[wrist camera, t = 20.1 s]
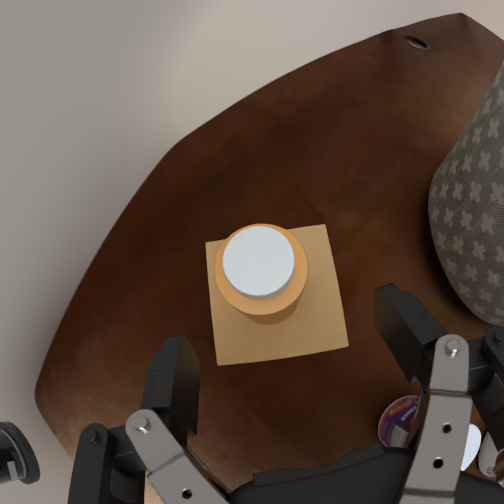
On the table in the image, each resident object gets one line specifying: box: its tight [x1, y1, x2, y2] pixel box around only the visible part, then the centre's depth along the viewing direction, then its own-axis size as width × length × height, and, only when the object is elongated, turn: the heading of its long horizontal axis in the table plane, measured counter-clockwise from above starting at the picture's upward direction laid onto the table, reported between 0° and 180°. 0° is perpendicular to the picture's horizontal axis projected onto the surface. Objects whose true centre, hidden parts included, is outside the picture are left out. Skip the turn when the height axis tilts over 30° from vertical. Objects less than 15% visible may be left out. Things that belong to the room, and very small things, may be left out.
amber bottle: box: [214, 224, 309, 325], centre depth 18 cm, size 5×5×10 cm
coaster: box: [206, 224, 349, 366], centre depth 23 cm, size 11×11×1 cm
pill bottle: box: [378, 395, 481, 471], centre depth 14 cm, size 5×5×10 cm
